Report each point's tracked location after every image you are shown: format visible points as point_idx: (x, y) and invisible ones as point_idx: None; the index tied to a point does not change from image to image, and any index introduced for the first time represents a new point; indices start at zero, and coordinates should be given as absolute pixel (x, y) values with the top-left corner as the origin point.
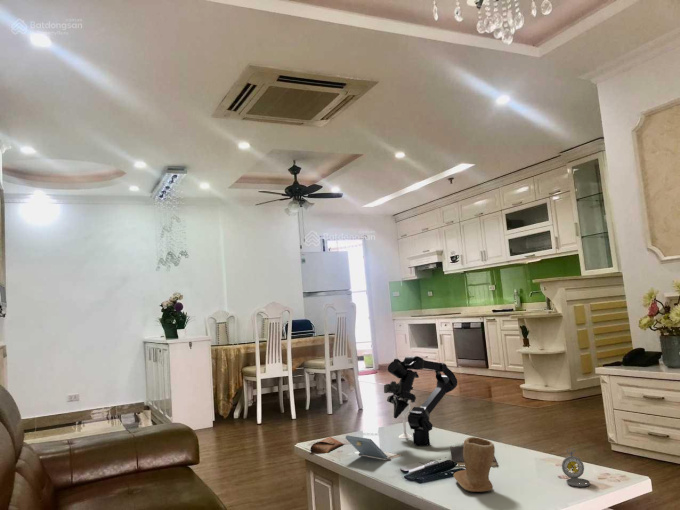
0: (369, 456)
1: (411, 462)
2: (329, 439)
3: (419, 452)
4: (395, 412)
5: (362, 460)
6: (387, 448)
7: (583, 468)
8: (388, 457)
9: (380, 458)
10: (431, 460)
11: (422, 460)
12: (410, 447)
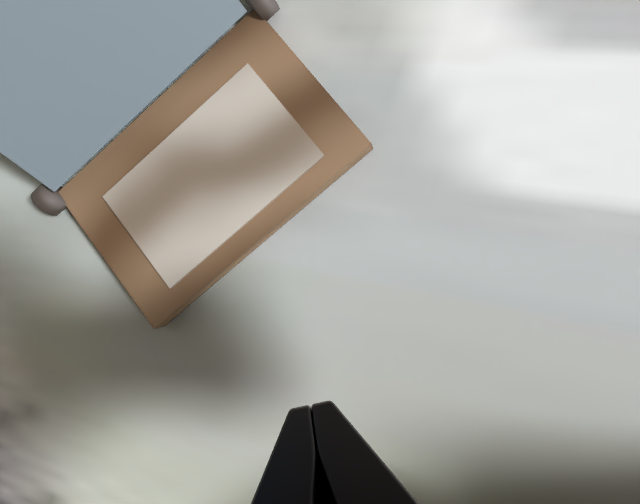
0: (194, 68)
1: (36, 353)
2: None
3: None
4: (260, 489)
5: None
6: (512, 266)
7: None
8: (111, 207)
9: (113, 146)
10: (41, 499)
11: (59, 440)
12: (479, 478)
